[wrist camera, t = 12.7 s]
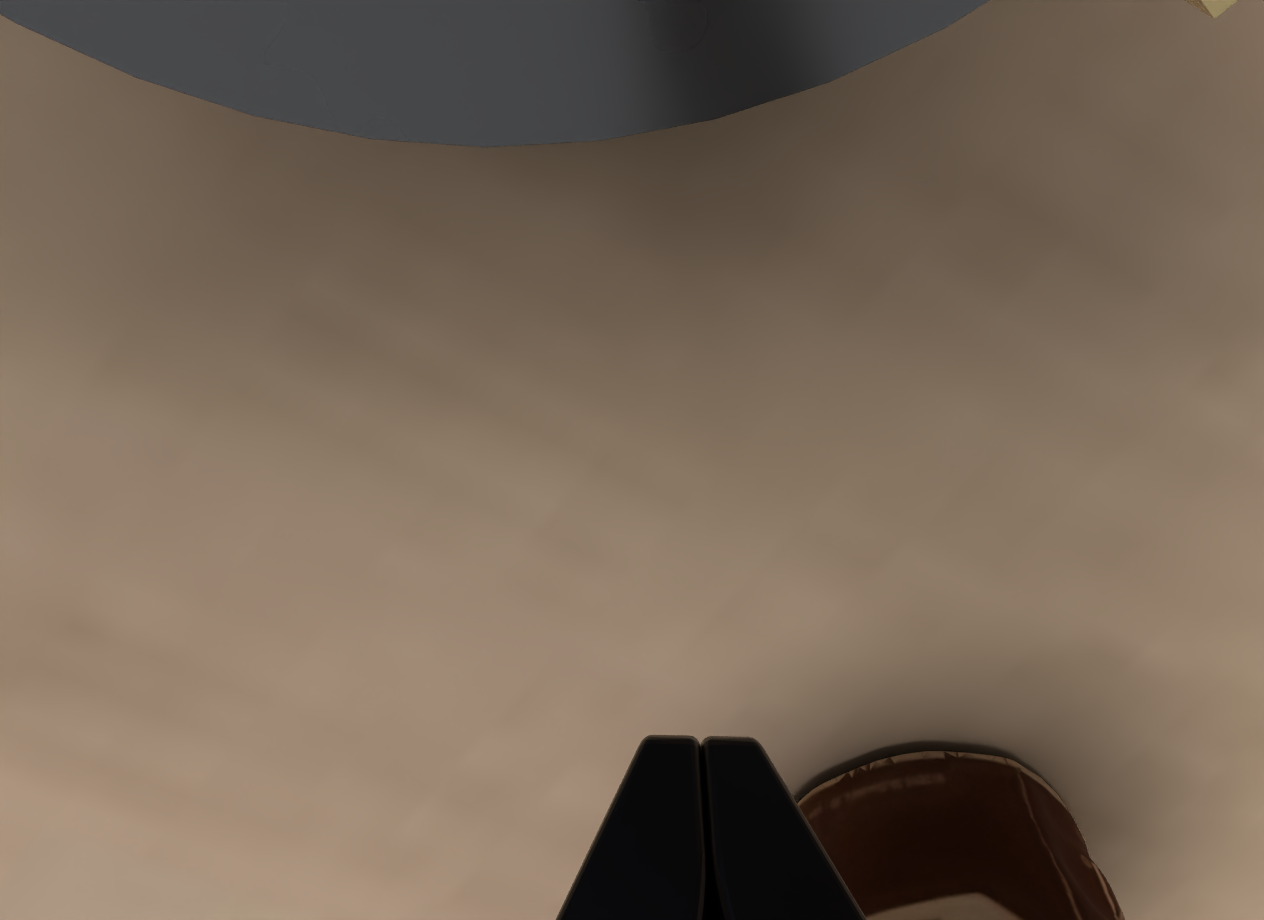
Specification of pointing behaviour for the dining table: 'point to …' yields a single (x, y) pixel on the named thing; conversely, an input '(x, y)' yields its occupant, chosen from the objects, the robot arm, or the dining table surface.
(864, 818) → the coffee cup
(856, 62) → the turntable
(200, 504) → the dining table surface
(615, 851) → the robot arm
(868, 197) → the dining table surface
